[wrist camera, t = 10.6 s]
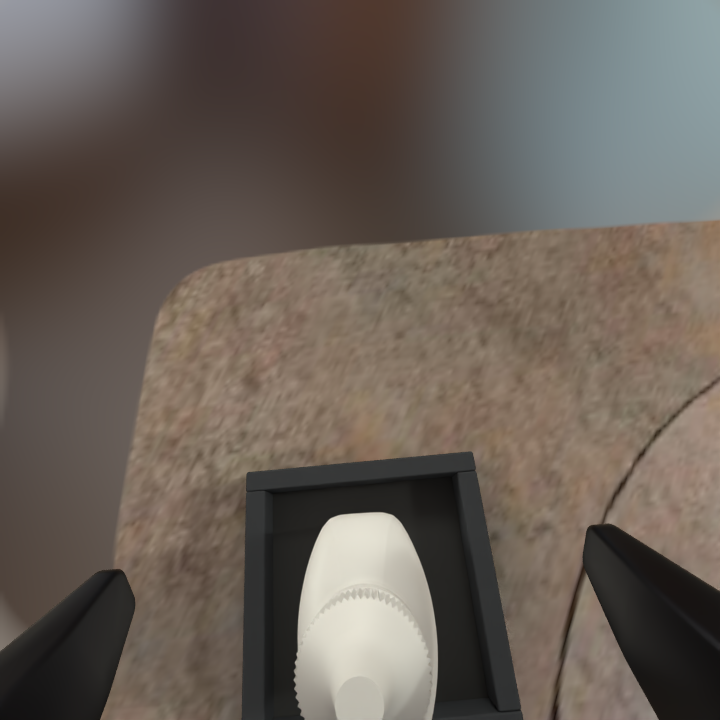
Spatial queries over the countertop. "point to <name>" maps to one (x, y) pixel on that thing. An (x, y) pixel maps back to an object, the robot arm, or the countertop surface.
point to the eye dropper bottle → (366, 625)
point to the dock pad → (436, 554)
